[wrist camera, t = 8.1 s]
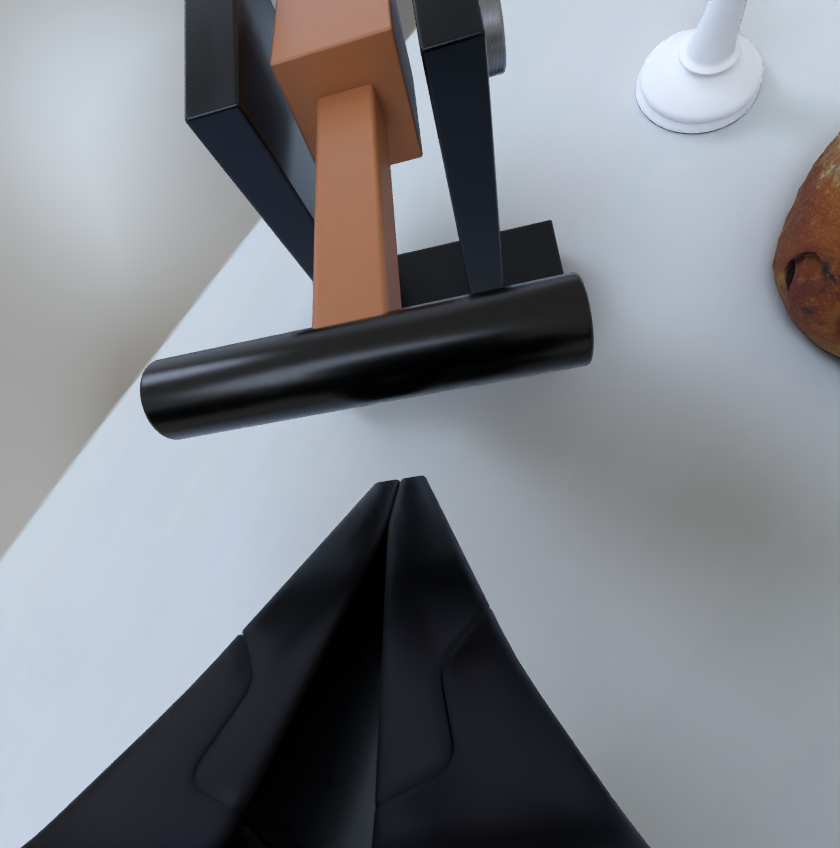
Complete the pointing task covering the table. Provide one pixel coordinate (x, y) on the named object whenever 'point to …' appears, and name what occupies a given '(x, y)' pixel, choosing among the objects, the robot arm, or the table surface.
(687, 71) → the chess piece
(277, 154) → the stand
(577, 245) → the table surface
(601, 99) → the table surface
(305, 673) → the robot arm
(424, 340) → the brown black t-shaped piece
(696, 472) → the table surface
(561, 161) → the table surface
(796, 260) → the bread roll
